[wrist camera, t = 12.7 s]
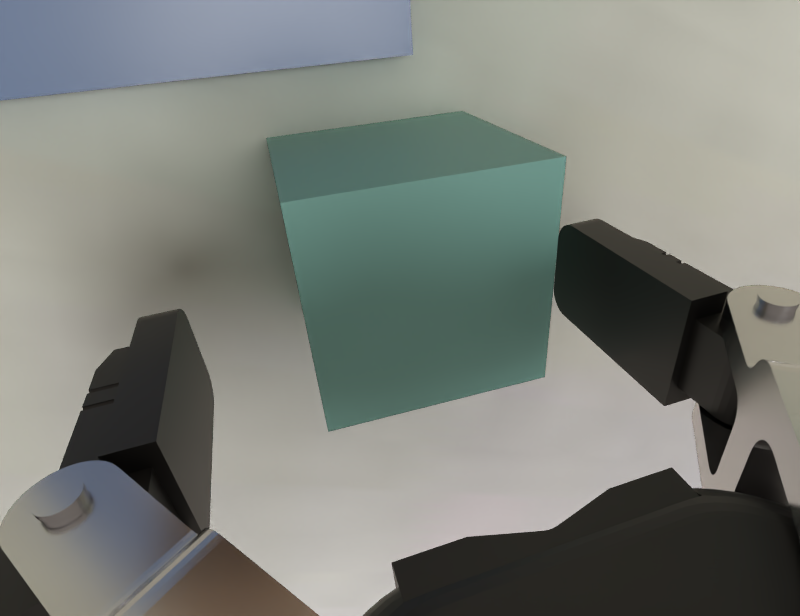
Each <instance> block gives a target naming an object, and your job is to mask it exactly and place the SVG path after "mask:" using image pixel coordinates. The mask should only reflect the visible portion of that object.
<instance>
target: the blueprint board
mask: <svg viewBox="0 0 800 616" xmlns="http://www.w3.org/2000/svg"><path fill="white" fill-rule="evenodd" d="M407 55H413V46H412V27H411V9H410V0H0V100H8V99H17V98H27V97H36V96H45V95H54V94H63V93H72V92H81V91H90V90H99V89H108V88H117V87H126V86H135V85H144V84H153V83H162V82H171V81H181V80H190V79H199V78H208V77H217V76H226V75H235V74H244V73H253V72H262V71H271V70H280V69H289V68H298V67H307V66H316V65H325V64H334V63H344V62H353V61H362V60H371V59H380V58H389V57H398V56H407Z"/></svg>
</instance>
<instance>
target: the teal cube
mask: <svg viewBox="0 0 800 616" xmlns="http://www.w3.org/2000/svg"><path fill="white" fill-rule="evenodd" d="M266 139H267V144H268V149H269V153H270V158H271V163H272V168H273V172H274V177H275V182H276V186H277V191H278V196H279V201H280V205H281V210H282V215H283V220H284V224H285V229H286V234H287V239H288V243H289V248H290V253H291V257H292V262H293V267H294V272H295V276H296V281H297V286H298V291H299V295H300V300H301V305H302V310H303V314H304V319H305V324H306V328H307V333H308V338H309V343H310V347H311V352H312V357H313V362H314V366H315V371H316V376H317V380H318V385H319V390H320V395H321V399H322V404H323V409H324V413H325V418H326V423H327V428H328V432H329V431H333V430H337V429H341V428H345V427H349V426H353V425H357V424H361V423H365V422H369V421H373V420H377V419H381V418H384V417H388V416H392V415H396V414H400V413H404V412H408V411H412V410H416V409H420V408H424V407H428V406H432V405H436V404H440V403H444V402H448V401H452V400H456V399H460V398H464V397H468V396H471V395H475V394H479V393H483V392H487V391H491V390H495V389H499V388H503V387H507V386H511V385H515V384H519V383H523V382H527V381H531V380H535V379H539V378H543V377H545V368H546V358H547V347H548V337H549V327H550V317H551V307H552V297H553V286H554V276H555V266H556V256H557V246H558V236H559V225H560V215H561V205H562V195H563V185H564V174H565V164H566V156H564V155H562V154H559V153H557V152H555V151H552V150H550V149H548V148H546V147H543V146H541V145H539V144H536V143H534V142H532V141H530V140H527V139H525V138H523V137H520V136H518V135H516V134H514V133H511V132H509V131H507V130H504V129H502V128H500V127H498V126H495V125H493V124H491V123H489V122H486V121H484V120H482V119H479V118H477V117H475V116H473V115H470V114H468V113H466V112H463V111H460V112H453V113H445V114H438V115H431V116H423V117H416V118H409V119H401V120H394V121H387V122H380V123H372V124H365V125H358V126H350V127H343V128H336V129H329V130H321V131H314V132H307V133H299V134H292V135H285V136H278V137H270V138H266Z"/></svg>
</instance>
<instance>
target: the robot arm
mask: <svg viewBox="0 0 800 616" xmlns="http://www.w3.org/2000/svg"><path fill="white" fill-rule="evenodd" d="M554 296H555V300H556V303H557V306H558V308H559V310H560V311H561V312H562V314H563V315H564V316H565V317H566V318H568V319H569V320H570V321H571V322H572V323H573V324H574V325H575V326H576V327H577V328H579V329H580V330H581V331H582V332H583V333H584V334H585V335H586V336H587V337H589V338H590V339H591V340H592V341H593V342H594V343H595V344H596V345H597V346H598V347H600V348H601V349H602V350H603V351H604V352H605V353H606V354H607V355H608V356H609V357H611V358H612V359H613V360H614V361H615V362H616V363H617V364H618V365H619V366H621V367H622V368H623V369H624V370H625V371H626V372H627V373H628V374H629V375H630V376H632V377H633V378H634V379H635V380H636V381H637V382H638V383H639V384H640V385H641V386H643V387H644V388H645V389H646V390H647V391H648V392H649V393H650V394H651V395H653V396H654V397H655V398H656V399H657V400H658V401H659V402H660V403H661V404H662V405H664V406H666V405H670V404H673V403H676V402H679V401H682V400H686V399H689V398H692V399H693V400H694V401H696V403H695V406H694V409H693V413H692V422H693V429H694V436H695V443H696V450H697V457H698V464H699V471H700V478H701V485H702V488H691V487H690V486H689V485H688V484H687V483H686V482H685V481H684V479H683V478H682V477H681V476H680V475H679V474H678V473H677V472H676V471H675V470H674V469H673V468H669V469H666V470H663V471H660V472H657V473H654V474H651V475H648V476H645V477H642V478H639V479H636V480H633V481H630V482H627V483H624V484H622V485H619V486H616V487H613V488H610V489H608V490H607V491H605V492H604V493H602V494H601V495H600V496H598V497H597V498H595V499H594V500H593V501H591V502H590V503H589V504H587V505H586V506H584V507H583V508H582V509H580V510H579V511H577V512H576V513H575V514H573V515H572V516H571V517H569V518H568V519H566V520H565V521H564V522H562V523H561V524H559V525H558V526H556V527H555V528H553V529H550V530H546V531H536V532H524V533H511V534H499V535H486V536H474V537H466V538H463V539H460V540H457V541H454V542H451V543H448V544H445V545H442V546H439V547H436V548H433V549H430V550H427V551H424V552H421V553H418V554H416V555H413V556H410V557H407V558H404V559H401V560H398V561H395V562H392V568H393V573H394V579H395V585H396V589H394V590H393V591H392V592H390V593H389V594H387V595H386V596H384V597H383V598H382V599H380V600H379V601H378V602H377V603H376V604H375V605H374V606H373V607H371V608H370V609H369V610H368V611H367V612H366V613H365V614H364V615H363V616H800V293H799V292H796V291H793V290H789V289H785V288H780V287H775V286H767V285H750V286H743V287H739V288H736V289H734V290H733V289H732V288H730V287H728V286H726V285H724V284H722V283H721V282H719V281H717V280H715V279H713V278H712V277H710V276H708V275H706V274H704V273H703V272H701V271H699V270H697V269H695V268H693V267H692V266H690V265H688V264H686V263H683V264H682V263H681V260H679V259H677V258H675V257H674V256H672V255H670V254H668V255H666V252H664V251H663V250H661V249H659V248H657V247H655V246H654V245H652V244H650V243H648V242H646V241H642V240H639V239H635V238H633V237H631V236H629V235H627V234H625V233H624V232H622V231H620V230H618V229H616V228H615V227H613V226H611V225H609V224H608V223H606V222H604V221H602V220H600V219H593V220H588V221H584V222H579V223H575V224H570V225H566V226H564V227H563V228H562V229H561V230H560V233H559V236H558V246H557V257H556V269H555V281H554ZM82 407H83V411H81V412H80V415H79V417H78V420H77V423H76V425H75V428H74V431H73V433H72V436H71V439H70V442H69V444H68V447H67V450H66V452H65V455H64V458H63V461H62V463H61V466H60V469H59V470H58V471H56V472H54V473H52V474H50V475H48V476H47V477H45V478H44V479H42V480H40V481H39V482H38V483H36V484H35V485H33V486H32V487H31V488H30V489H28V490H27V491H26V492H25V493H24V494H23V495H22V496H21V497H20V498H19V499H18V500H17V501H16V502H15V503H14V504H13V506H12V507H11V508H10V509H9V511H8V512H7V514H6V516H5V517H4V519H3V521H2V524H1V526H0V616H319V615H318V614H316V613H315V612H314V611H313V610H312V609H310V608H309V607H308V606H307V605H305V604H304V603H303V602H302V601H301V600H299V599H298V598H297V597H296V596H294V595H293V594H292V593H291V592H290V591H288V590H287V589H286V588H285V587H283V586H282V585H281V584H280V583H279V582H277V581H276V580H275V579H274V578H272V577H271V576H270V575H269V574H268V573H266V572H265V571H264V570H263V569H261V568H260V567H259V566H258V565H257V564H255V563H254V562H253V561H252V560H250V559H249V558H248V557H247V556H246V555H244V554H243V553H242V552H241V551H239V550H238V549H237V548H236V547H235V546H233V545H232V544H231V543H230V542H228V541H227V540H226V539H225V538H224V537H222V536H221V535H220V534H218V533H217V532H215V531H214V530H211V529H209V525H210V498H211V470H212V443H213V416H214V396H213V389H212V384H211V380H210V377H209V373H208V371H207V368H206V365H205V363H204V360H203V358H202V355H201V352H200V350H199V347H198V345H197V342H196V339H195V337H194V334H193V332H192V329H191V326H190V324H189V321H188V319H187V317H186V314H185V313H184V311H183V310H182V309H177V310H172V311H167V312H163V313H158V314H154V315H149V316H145V317H140V318H139V319H138V321H137V324H136V327H135V330H134V334H133V337H132V341H131V344H130V347H125V348H121V349H116V350H114V351H113V352H112V353H111V354H110V355H109V356H108V357H107V359H106V360H105V361H104V362H103V363H102V364H101V365H100V366H99V367H98V368H97V369H96V371H95V374H94V377H93V379H92V382H91V385H90V387H89V394H87V396H86V398H85V401H84V404H83V406H82Z"/></svg>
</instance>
